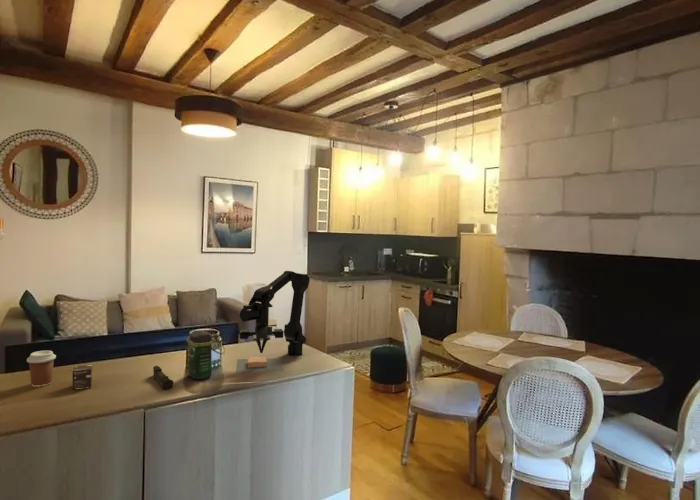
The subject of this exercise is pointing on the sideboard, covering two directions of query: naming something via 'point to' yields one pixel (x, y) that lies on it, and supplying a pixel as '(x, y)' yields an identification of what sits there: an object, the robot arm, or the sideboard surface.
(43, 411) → the sideboard surface
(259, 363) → the tile
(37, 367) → the coffee cup
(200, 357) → the coffee jar
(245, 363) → the mat
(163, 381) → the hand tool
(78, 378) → the box
